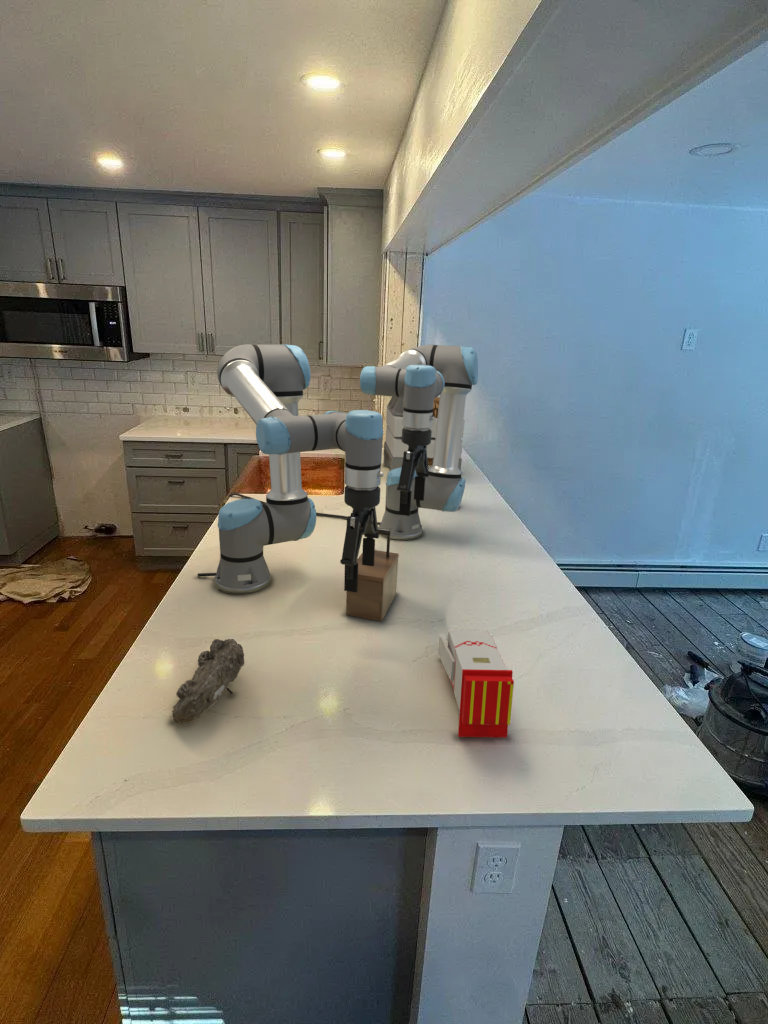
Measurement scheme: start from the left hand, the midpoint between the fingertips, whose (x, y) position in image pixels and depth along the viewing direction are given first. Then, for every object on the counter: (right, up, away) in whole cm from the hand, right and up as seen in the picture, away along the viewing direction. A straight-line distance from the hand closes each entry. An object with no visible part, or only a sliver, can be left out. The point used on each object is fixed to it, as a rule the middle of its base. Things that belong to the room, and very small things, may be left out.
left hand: (359, 577), depth 126 cm
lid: (+3, 0, +23) cm, 23 cm away
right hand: (+13, +16, +25) cm, 32 cm away
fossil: (-29, -22, -11) cm, 38 cm away
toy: (+23, -23, -7) cm, 34 cm away
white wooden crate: (+23, +33, +149) cm, 154 cm away
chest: (+2, -10, +26) cm, 28 cm away
